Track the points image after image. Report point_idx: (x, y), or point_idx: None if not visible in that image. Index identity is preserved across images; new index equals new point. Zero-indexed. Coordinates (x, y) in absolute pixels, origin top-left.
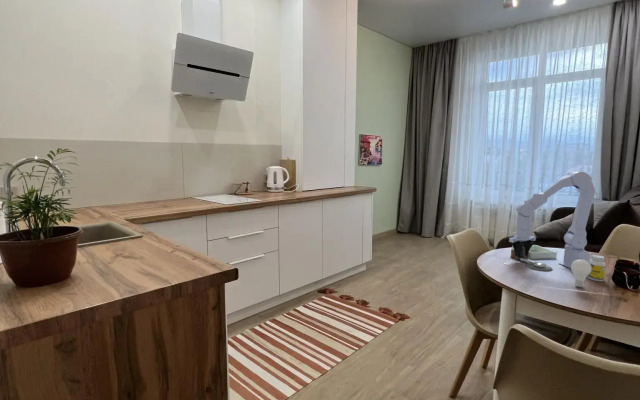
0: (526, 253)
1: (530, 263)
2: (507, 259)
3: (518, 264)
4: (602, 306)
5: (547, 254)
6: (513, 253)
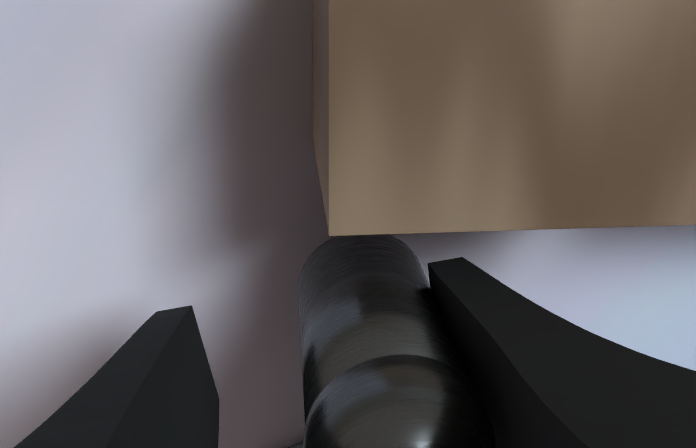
0: None
1: None
2: (99, 54)
3: None
4: None
5: None
6: (319, 12)
